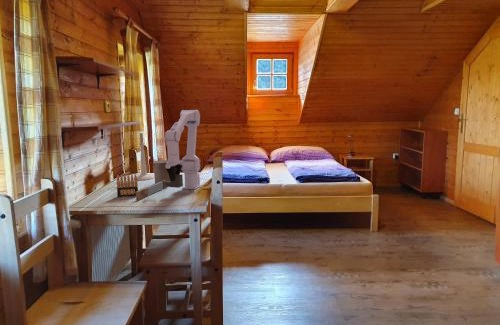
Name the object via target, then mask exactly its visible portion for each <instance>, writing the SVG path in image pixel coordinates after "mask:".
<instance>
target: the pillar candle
mask: <svg viewBox="0 0 500 325" xmlns="http://www.w3.org/2000/svg"><path fill="white" fill-rule="evenodd" d="M166 162H168V159H161V160H154V161H153V162H152V163H153V174H154V175H153V176H154V184H156V183H159V182H161V180H167V181H170V177H169V174H168V172H167V170H166V166H165V165H166Z"/></svg>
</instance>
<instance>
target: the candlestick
mask: <svg viewBox="0 0 500 325" xmlns="http://www.w3.org/2000/svg"><path fill="white" fill-rule="evenodd" d="M145 144H146V143H145V142H144V134H143V132H140V133H139V147H140V174H138V175H136V177H137V182H138V181H149V180H150V179H151V180H154V179H155V177H154V175H152V174H148V172H147V164H146V156H145V148H144V147H145ZM153 178H154V179H153Z"/></svg>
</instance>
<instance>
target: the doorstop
mask: <svg viewBox="0 0 500 325" xmlns="http://www.w3.org/2000/svg"><path fill="white" fill-rule="evenodd" d="M183 178H184V177H183V174H180V175H178V174H175V181H171V180H170V181H166V182H165V187H167V188H175V189H176V188H177V189H180V188H183V187H184V184H183V183H184V182H183Z"/></svg>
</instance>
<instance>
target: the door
mask: <svg viewBox="0 0 500 325" xmlns="http://www.w3.org/2000/svg"><path fill="white" fill-rule="evenodd" d="M146 188H148V196H150V195H152V194H154V193H157V192H158V191H161V190H164V189H163V182H159V183H156V184H155V183H154V184H152V185H149V186H147V187H146Z"/></svg>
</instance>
